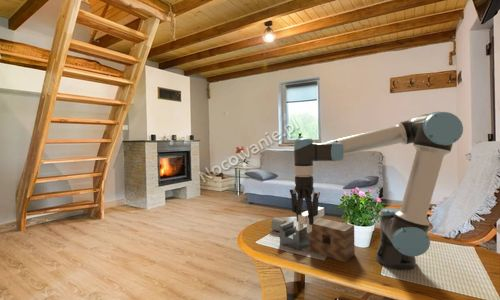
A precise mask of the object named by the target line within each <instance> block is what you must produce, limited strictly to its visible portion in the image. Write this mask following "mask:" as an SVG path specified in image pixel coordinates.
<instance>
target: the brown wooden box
mask: <svg viewBox="0 0 500 300" xmlns="http://www.w3.org/2000/svg"><path fill="white" fill-rule="evenodd" d="M313 222H314V223H313V224H312V231H311V232H309V243H310V245H309V252H312V253H314V254H319V255H321V256H324V257H328V258H330V259H334V260H336V261H340V262H343V263H347V262H348V261H349V260H350V259H351V258H352V257H353V256H355V225H354V224H349V223H345V222H339V221H336V220H331V219H328V218H323V217H320V218H318V219H316V220H314V221H313Z"/></svg>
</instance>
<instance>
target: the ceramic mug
mask: <svg viewBox="0 0 500 300" xmlns="http://www.w3.org/2000/svg"><path fill="white" fill-rule="evenodd" d="M286 222H288V221H287V220H286V219H283V218H280V217H273V218H272V219H271V222H270V229H271V230H272V231H276V232H279V233H280V227H279V225H282V224H284V223H286Z"/></svg>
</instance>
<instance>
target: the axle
mask: <svg viewBox="0 0 500 300" xmlns="http://www.w3.org/2000/svg"><path fill="white" fill-rule="evenodd" d="M324 216H325V207H321V206H318V215H316V216H314V217H313V221H314V220H316V219H318V218H323V217H324ZM307 217H308V211H307V210H306V211H302V213H301V214H298V222H297V224H298V223H300V224H303V225H307Z"/></svg>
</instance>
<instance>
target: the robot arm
mask: <svg viewBox="0 0 500 300" xmlns="http://www.w3.org/2000/svg"><path fill="white" fill-rule="evenodd" d="M463 133H464V126H463V123H462V121H461V119H460V118H459V117H458V116H457V115H455V114H454V113H452V112H447V111H435V112H432V113H426V114H421V115H418V116H416V117H413V118H411V119H407V120H403V121H400V122H397V124H396V125H393V126H390V127H384V128H380V129H376V130H371V131H367V132H363V133H358V134H354V135H349V136H345V137H342V138H341V137H340V138H337V139H332V140H329V141H327V140H326V141H323V142H314V141H313V138H296V139H295V140H294V141H293V142H294V146H293V154H294V175H295V176H294V184H295V186H294V188H292V189H289V194H290V197H291V198H290V199H291V211H292V213H294V214H295V215H296V222H297V224H298V225H297V229H298V230H299V231H300V230H302V229H303V226H304V224H300V223H298V214H301V213H303V211H302V210H303V204H304V201H305V204H306V209H307V210H306V211H308V217H307V224H306V225H307V233H309V232H311V231H312V224H313V223H314V222H313V217H314V216H316V215H318V207H319V199H320V195H321V193H320V191H316V190H315V188H314V176H313V175H314V162H340V161H341V162H342V161H343V160H344V157H345V155H349V154H355V153H359V152H363V151H369V150H373V149H378V148H384V147H387V146H393V145H397V144H401V145H409V144H413V147H414V149H415V155H414V159H413V162H412V166H411V169H410V172H409V177H408V180H407V183H406V188H405V192H404V196H403V198H402V202H401V206H400V208H383V209H381V210H380V214H379V218H380V220H379V221H380V224H379V225H380V227H379V228H380V230H379V231H380V243H379V245H378V248H377V250H376V254H375V255H376V260H377V262H378V263H379V264H381V265H382V266H385V267H387V266H388V268H390V267H392V268H391V269H394V268H396V270H401V269H408V270H413V269H414V268H416V265H417V261H416V257H419V256H422V255H424V254H425V253H427V252H428V250H429V249H430V246H431V239H430V237H429V235H428V231H429V227H430V221H429V220H428V219H427V215H428V212H429V208H430V206H431V202H432V198H433V195H434V191H435V188H436V186H437V185H436V184H437V180H438V178H439V173H440V171H441V167H442V163H443V159H444V156H446V155H448V154H449V153H451V150H452V148H453V144H454V143H456V142H458V140H460V139H461V137H462V135H463Z"/></svg>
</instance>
